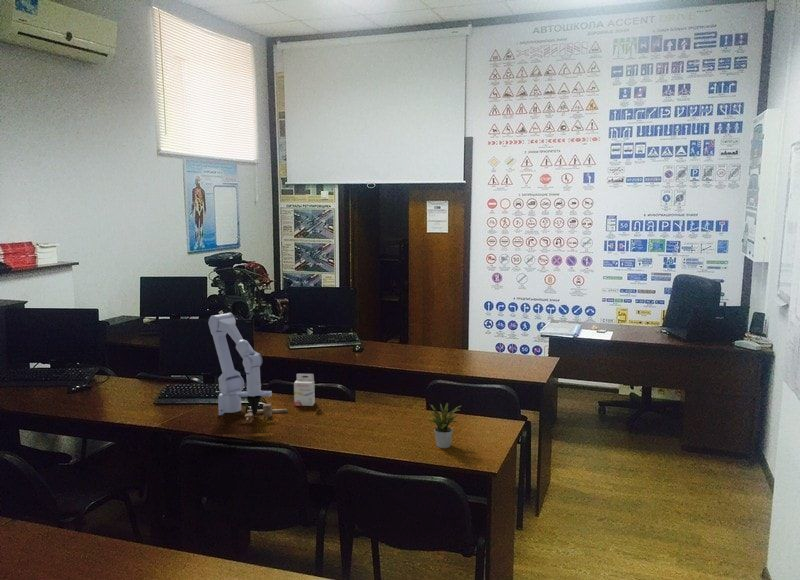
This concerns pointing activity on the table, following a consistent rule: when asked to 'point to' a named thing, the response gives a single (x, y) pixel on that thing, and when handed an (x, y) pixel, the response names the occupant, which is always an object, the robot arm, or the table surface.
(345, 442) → the table surface
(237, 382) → the robot arm
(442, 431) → the house plant
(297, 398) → the ink cartridge box
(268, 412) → the sliding leg
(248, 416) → the beam and fixed leg
